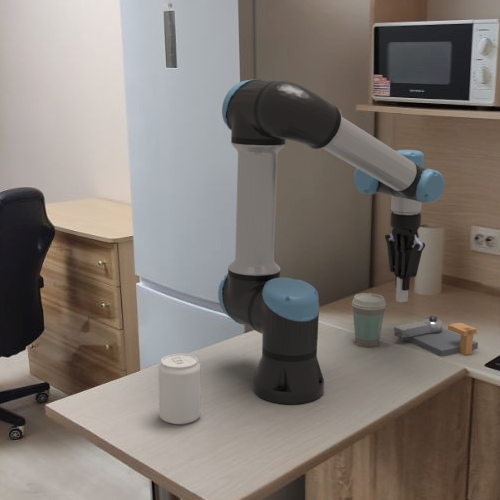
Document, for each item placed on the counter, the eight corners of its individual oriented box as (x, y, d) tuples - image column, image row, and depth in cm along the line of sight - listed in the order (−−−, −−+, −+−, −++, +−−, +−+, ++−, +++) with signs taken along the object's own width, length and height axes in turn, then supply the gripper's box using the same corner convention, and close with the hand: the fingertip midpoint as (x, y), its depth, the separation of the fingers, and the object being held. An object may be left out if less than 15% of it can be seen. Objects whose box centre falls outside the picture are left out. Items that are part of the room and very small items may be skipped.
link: (432, 325, 202) (433, 313, 201) (445, 330, 197) (446, 318, 197) (391, 333, 195) (392, 321, 194) (404, 339, 191) (404, 326, 190)
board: (441, 356, 185) (441, 350, 184) (400, 337, 197) (400, 332, 197) (477, 348, 191) (477, 342, 190) (435, 330, 203) (435, 324, 203)
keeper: (462, 355, 186) (464, 331, 184) (446, 348, 190) (448, 324, 189) (474, 353, 187) (476, 328, 186) (458, 345, 192) (460, 322, 191)
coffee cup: (383, 350, 189) (386, 303, 186) (348, 347, 190) (350, 301, 187) (384, 338, 197) (387, 293, 194) (351, 335, 198) (353, 291, 195)
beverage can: (166, 429, 146) (165, 370, 143) (154, 412, 153) (153, 355, 151) (206, 422, 149) (206, 364, 147) (192, 405, 157) (192, 350, 154)
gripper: (435, 214, 190) (429, 305, 195) (400, 206, 201) (396, 292, 206) (412, 217, 186) (407, 310, 192) (377, 209, 197) (374, 296, 203)
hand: (401, 301), depth 199 cm, fingers closed
